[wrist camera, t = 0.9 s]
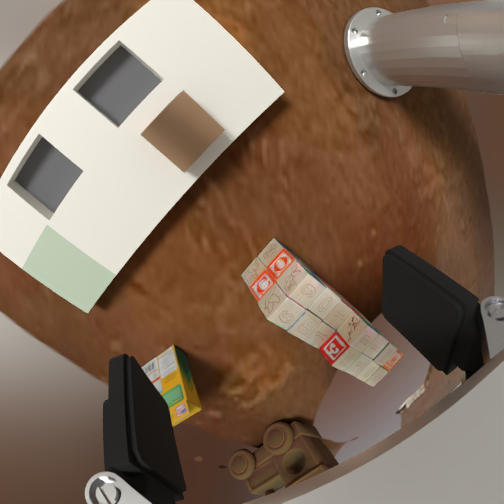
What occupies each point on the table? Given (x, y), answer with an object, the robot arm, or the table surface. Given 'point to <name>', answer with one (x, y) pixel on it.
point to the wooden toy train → (282, 458)
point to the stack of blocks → (318, 314)
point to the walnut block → (182, 131)
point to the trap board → (121, 146)
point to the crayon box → (174, 383)
